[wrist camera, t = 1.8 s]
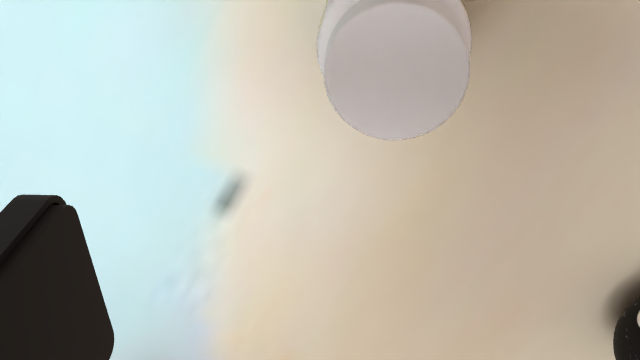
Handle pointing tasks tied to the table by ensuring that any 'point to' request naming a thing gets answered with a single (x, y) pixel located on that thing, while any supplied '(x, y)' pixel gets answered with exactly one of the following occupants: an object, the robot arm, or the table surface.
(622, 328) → the billiard ball
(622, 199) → the table surface
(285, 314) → the table surface
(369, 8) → the supplement bottle
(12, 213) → the robot arm
